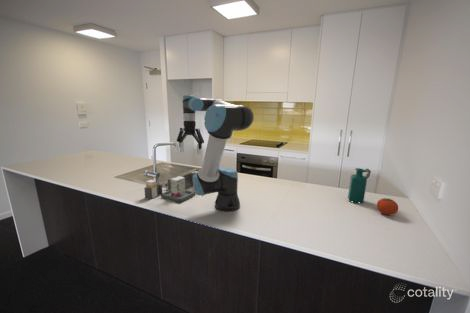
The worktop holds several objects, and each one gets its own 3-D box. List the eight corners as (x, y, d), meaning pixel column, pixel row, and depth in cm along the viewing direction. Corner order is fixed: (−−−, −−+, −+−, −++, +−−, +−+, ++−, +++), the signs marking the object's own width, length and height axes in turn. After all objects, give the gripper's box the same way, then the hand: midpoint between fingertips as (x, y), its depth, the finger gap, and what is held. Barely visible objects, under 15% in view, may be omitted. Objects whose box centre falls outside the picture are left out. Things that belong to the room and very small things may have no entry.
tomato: (371, 209, 130) (374, 194, 128) (388, 210, 130) (391, 194, 128) (382, 218, 120) (385, 201, 118) (401, 218, 120) (404, 201, 118)
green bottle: (349, 202, 140) (353, 169, 136) (347, 197, 148) (351, 166, 143) (366, 204, 137) (371, 171, 132) (363, 199, 145) (368, 168, 140)
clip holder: (174, 189, 156) (173, 174, 154) (150, 199, 138) (149, 183, 136) (169, 188, 159) (168, 173, 156) (145, 198, 141) (143, 181, 138)
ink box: (176, 198, 139) (175, 180, 136) (170, 196, 141) (170, 179, 139) (185, 193, 146) (185, 177, 144) (180, 192, 149) (179, 175, 146)
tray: (195, 195, 146) (195, 192, 145) (180, 203, 134) (180, 199, 133) (176, 190, 154) (176, 187, 153) (161, 197, 142) (160, 193, 141)
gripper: (209, 120, 136) (209, 153, 141) (177, 119, 147) (179, 150, 151) (202, 121, 130) (203, 155, 134) (170, 120, 140) (171, 152, 144)
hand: (190, 153), depth 143 cm, fingers open, 13 cm apart
